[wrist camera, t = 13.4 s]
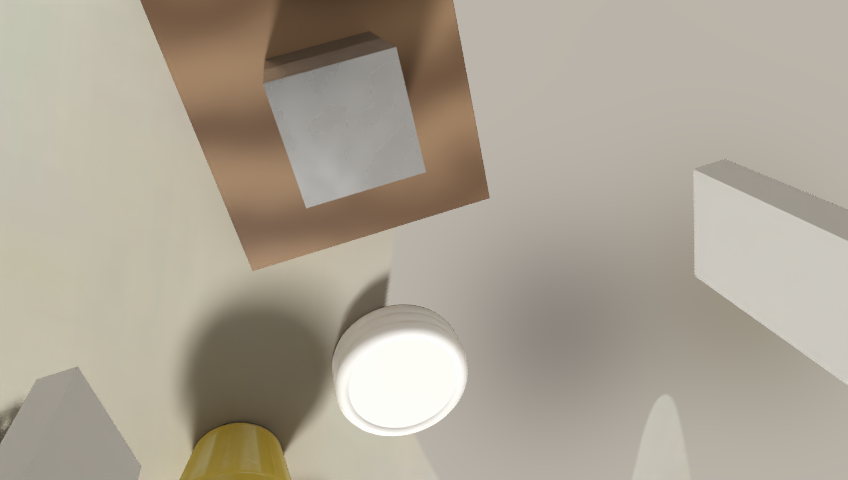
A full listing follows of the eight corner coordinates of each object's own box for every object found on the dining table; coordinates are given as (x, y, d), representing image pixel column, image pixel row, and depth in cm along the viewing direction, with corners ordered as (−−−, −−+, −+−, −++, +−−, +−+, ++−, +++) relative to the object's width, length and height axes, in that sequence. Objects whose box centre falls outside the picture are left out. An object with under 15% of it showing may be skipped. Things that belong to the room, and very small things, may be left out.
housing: (264, 59, 32) (262, 83, 25) (369, 30, 33) (396, 46, 26) (299, 160, 35) (306, 208, 28) (395, 132, 36) (426, 172, 28)
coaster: (451, 402, 49) (464, 431, 46) (331, 415, 46) (335, 447, 43) (462, 297, 45) (476, 321, 42) (330, 305, 43) (335, 331, 39)
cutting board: (135, -36, 31) (125, -37, 29) (421, -105, 33) (432, -111, 31) (253, 254, 39) (252, 271, 37) (477, 185, 41) (489, 198, 39)
